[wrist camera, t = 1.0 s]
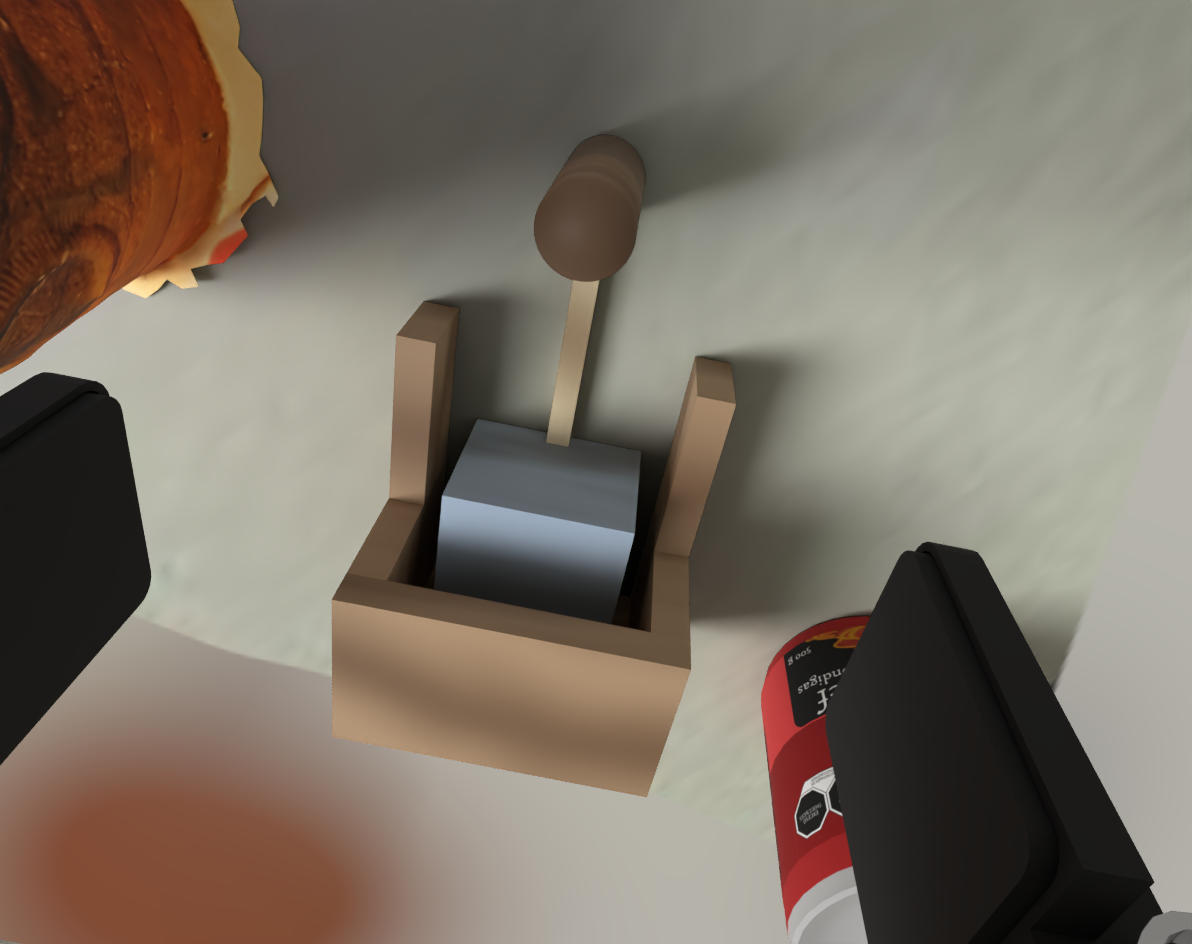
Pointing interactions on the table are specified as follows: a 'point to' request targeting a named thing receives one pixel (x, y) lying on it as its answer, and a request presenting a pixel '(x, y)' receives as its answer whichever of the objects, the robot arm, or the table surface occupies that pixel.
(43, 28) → the vessel
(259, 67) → the table surface
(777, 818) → the canned food
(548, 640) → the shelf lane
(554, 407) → the knob-handled block
